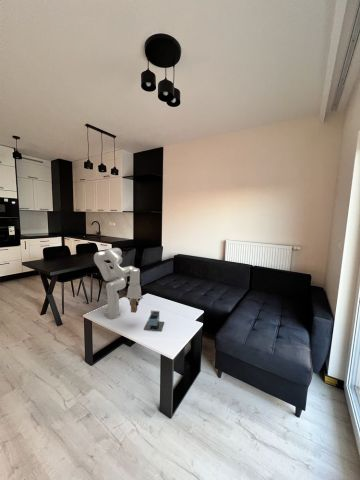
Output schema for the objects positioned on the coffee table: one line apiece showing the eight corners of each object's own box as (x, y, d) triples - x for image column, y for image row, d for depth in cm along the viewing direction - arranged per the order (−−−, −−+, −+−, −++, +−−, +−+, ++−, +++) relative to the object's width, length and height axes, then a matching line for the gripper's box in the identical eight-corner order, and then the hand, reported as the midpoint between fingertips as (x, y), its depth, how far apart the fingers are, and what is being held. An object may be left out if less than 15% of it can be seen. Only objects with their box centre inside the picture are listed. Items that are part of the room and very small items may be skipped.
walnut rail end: (130, 312, 155) (131, 297, 153) (132, 309, 159) (132, 295, 157) (135, 312, 155) (135, 298, 153) (137, 310, 159) (137, 296, 157)
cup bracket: (143, 329, 152) (143, 315, 151) (147, 321, 164) (148, 308, 162) (161, 331, 150) (161, 316, 149) (164, 323, 162) (164, 309, 161)
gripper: (122, 284, 151) (122, 306, 153) (143, 286, 149) (142, 309, 152) (126, 281, 158) (125, 302, 161) (146, 283, 157) (145, 304, 159)
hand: (134, 305), depth 156 cm, fingers closed on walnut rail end, 4 cm apart
